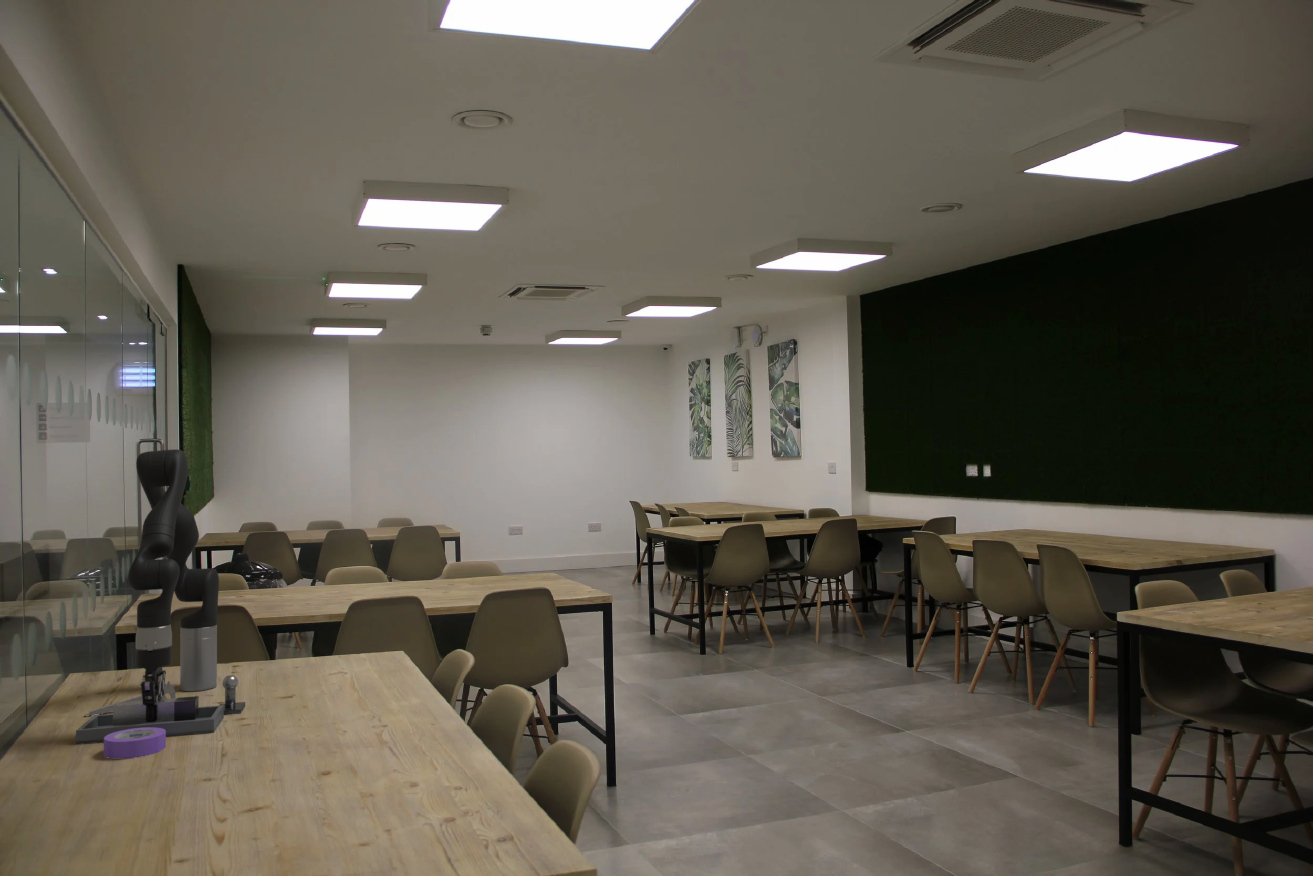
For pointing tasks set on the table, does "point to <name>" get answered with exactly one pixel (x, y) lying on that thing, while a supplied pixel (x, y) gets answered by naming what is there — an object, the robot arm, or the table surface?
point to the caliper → (167, 689)
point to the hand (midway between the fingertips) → (153, 719)
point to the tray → (152, 725)
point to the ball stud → (231, 696)
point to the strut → (165, 711)
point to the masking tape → (134, 742)
